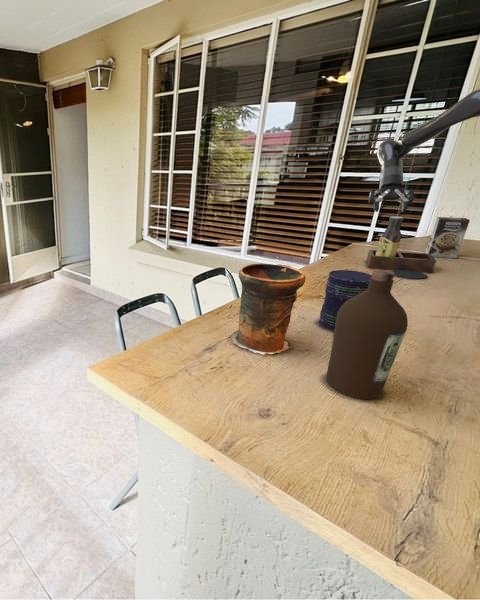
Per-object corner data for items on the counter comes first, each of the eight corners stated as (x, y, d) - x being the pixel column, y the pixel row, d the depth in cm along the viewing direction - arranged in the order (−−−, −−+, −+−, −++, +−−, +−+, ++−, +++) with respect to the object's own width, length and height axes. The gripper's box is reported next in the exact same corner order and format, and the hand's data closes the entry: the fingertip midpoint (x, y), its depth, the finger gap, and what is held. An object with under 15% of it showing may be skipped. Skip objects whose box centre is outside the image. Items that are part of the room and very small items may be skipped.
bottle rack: (426, 265, 140) (429, 253, 138) (432, 273, 132) (436, 260, 130) (366, 261, 150) (369, 249, 148) (368, 267, 142) (371, 256, 140)
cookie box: (427, 256, 151) (439, 218, 145) (424, 253, 156) (436, 216, 150) (457, 258, 146) (470, 219, 140) (453, 255, 151) (466, 217, 145)
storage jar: (316, 316, 104) (326, 268, 98) (356, 321, 100) (369, 271, 94) (320, 331, 96) (331, 279, 90) (365, 336, 91) (379, 283, 86)
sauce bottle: (369, 263, 147) (381, 215, 140) (386, 263, 146) (400, 215, 138) (378, 267, 141) (391, 218, 134) (396, 268, 140) (410, 217, 132)
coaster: (423, 272, 133) (423, 271, 133) (428, 280, 125) (429, 279, 125) (389, 270, 138) (389, 268, 138) (392, 277, 130) (392, 276, 130)
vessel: (271, 363, 82) (284, 284, 75) (219, 341, 94) (226, 270, 86) (303, 345, 89) (318, 270, 82) (252, 326, 101) (261, 259, 93)
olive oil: (313, 383, 74) (338, 272, 65) (334, 366, 80) (360, 261, 71) (373, 409, 66) (412, 285, 57) (393, 387, 72) (431, 272, 62)
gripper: (372, 174, 149) (371, 205, 144) (416, 172, 143) (417, 205, 138) (367, 186, 156) (366, 216, 151) (409, 185, 149) (409, 216, 144)
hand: (390, 210), depth 144 cm, fingers open, 8 cm apart
